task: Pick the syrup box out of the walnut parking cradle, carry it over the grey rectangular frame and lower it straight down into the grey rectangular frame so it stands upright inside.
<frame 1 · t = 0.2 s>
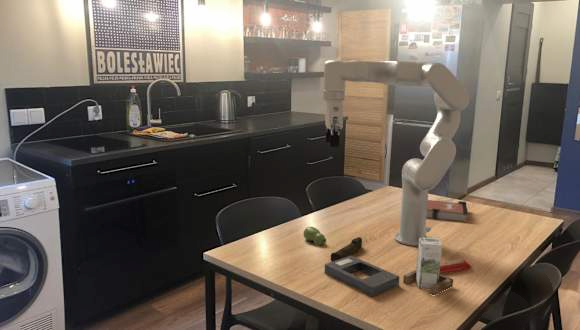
hand: (332, 144, 170), 37 cm above the table, tool pointing down, fingers open, 9 cm apart
candy bar: (449, 271, 155), on the table
parking cradle: (426, 285, 144), on the table
book: (435, 215, 215), on the table
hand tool: (347, 255, 166), on the table
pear: (314, 242, 178), on the table
syrup box: (426, 285, 144), on the table
grey rectangular frame: (360, 279, 147), on the table
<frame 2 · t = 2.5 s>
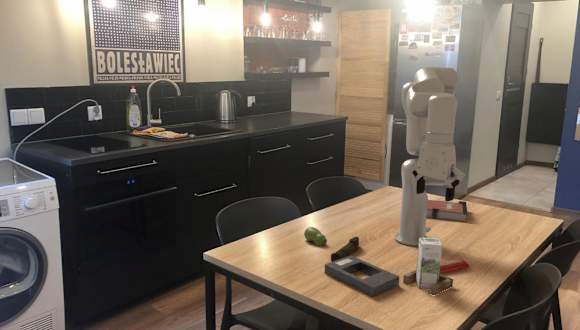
hand: (434, 196, 138), 28 cm above the table, tool pointing down, fingers open, 9 cm apart
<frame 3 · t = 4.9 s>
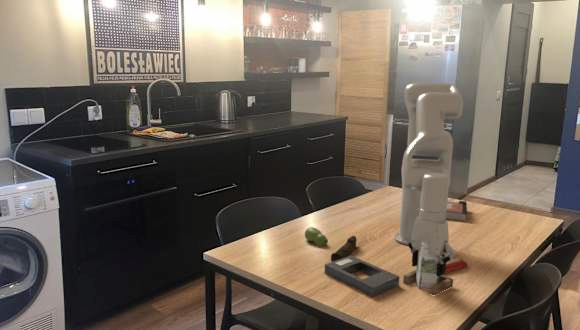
hand: (427, 269, 143), 5 cm above the table, tool pointing down, fingers closed on syrup box, 8 cm apart
syrup box: (426, 285, 144), on the table, touching gripper
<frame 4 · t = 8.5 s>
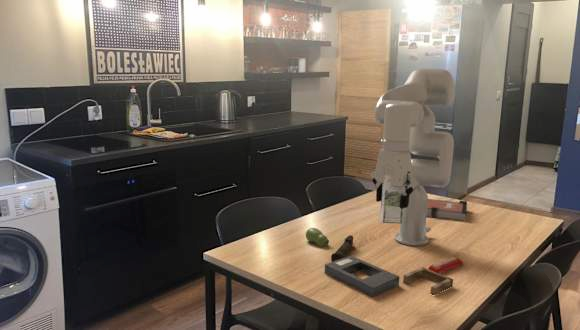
hand: (391, 203, 141), 25 cm above the table, tool pointing down, fingers closed on syrup box, 8 cm apart
syrup box: (390, 221, 142), point 20 cm above the table, touching gripper
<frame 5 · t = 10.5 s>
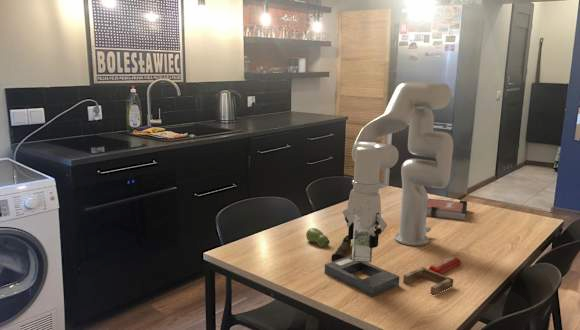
hand: (362, 242, 145), 12 cm above the table, tool pointing down, fingers closed on syrup box, 8 cm apart
syrup box: (361, 259, 145), point 7 cm above the table, touching gripper
when the fingers open (6 cm above the table, at t = 12.3 s): syrup box drops 1 cm, on the table.
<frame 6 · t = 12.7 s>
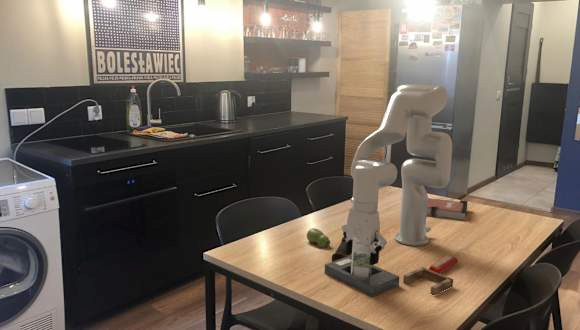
hand: (361, 258, 146), 7 cm above the table, tool pointing down, fingers open, 9 cm apart
syrup box: (360, 279, 147), on the table
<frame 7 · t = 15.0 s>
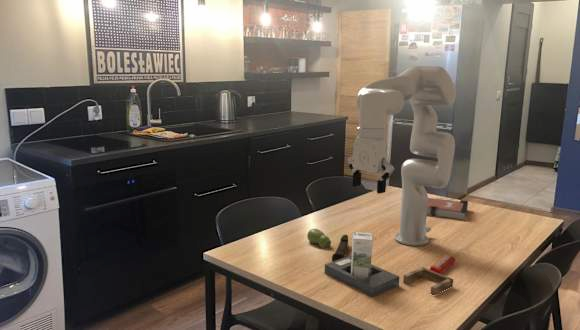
hand: (368, 189, 143), 28 cm above the table, tool pointing down, fingers open, 9 cm apart
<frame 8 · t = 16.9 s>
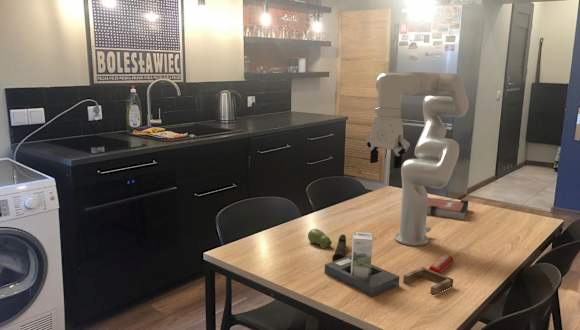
hand: (385, 165, 155), 33 cm above the table, tool pointing down, fingers open, 9 cm apart
at the end: syrup box 0.2 cm off-centre on the grey rectangular frame, point 0.0 cm above the grey rectangular frame's base; syrup box tilted 0°; the gripper is holding nothing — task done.
